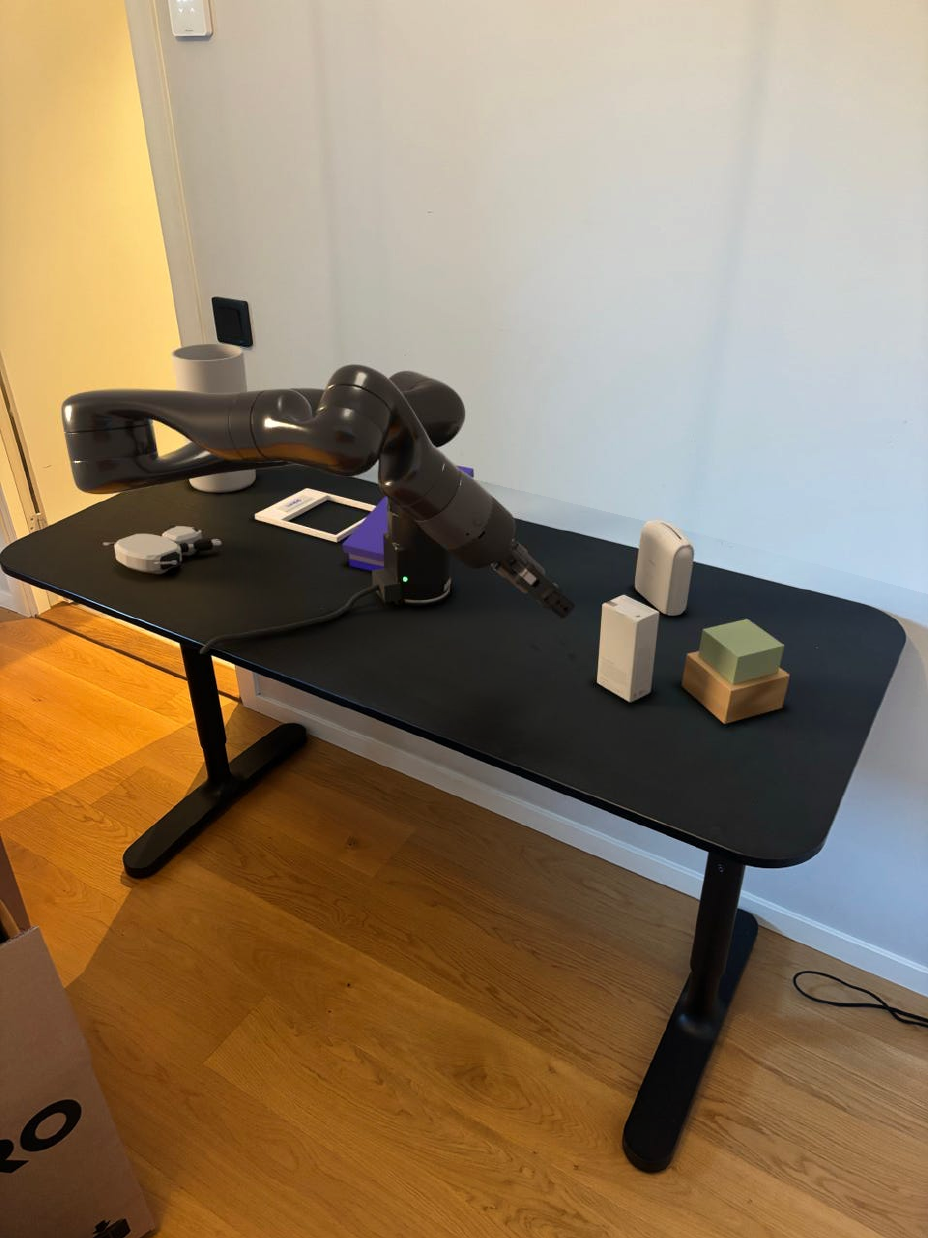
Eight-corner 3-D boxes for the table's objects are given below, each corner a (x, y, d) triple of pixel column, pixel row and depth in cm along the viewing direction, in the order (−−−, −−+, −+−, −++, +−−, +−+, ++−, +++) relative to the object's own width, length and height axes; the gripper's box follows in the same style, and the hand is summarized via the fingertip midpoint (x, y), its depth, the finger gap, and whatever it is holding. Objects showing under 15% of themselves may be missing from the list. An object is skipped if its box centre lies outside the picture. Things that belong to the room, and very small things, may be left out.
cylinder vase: (224, 499, 169) (208, 364, 157) (176, 485, 175) (156, 353, 162) (269, 478, 179) (257, 349, 166) (222, 465, 184) (207, 340, 171)
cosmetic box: (651, 692, 117) (663, 611, 111) (628, 705, 115) (639, 622, 108) (616, 671, 121) (626, 592, 115) (593, 683, 119) (601, 602, 113)
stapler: (476, 515, 165) (478, 464, 160) (405, 580, 142) (405, 523, 138) (419, 504, 169) (419, 454, 164) (342, 566, 146) (339, 509, 141)
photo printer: (629, 587, 142) (639, 514, 136) (653, 583, 143) (664, 511, 137) (664, 619, 134) (675, 543, 127) (689, 614, 135) (701, 538, 129)
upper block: (732, 684, 110) (738, 656, 108) (697, 655, 116) (702, 628, 114) (778, 672, 113) (784, 645, 111) (742, 645, 118) (747, 618, 116)
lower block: (724, 724, 111) (731, 690, 109) (681, 685, 119) (686, 653, 116) (782, 708, 115) (790, 675, 112) (736, 671, 122) (743, 639, 119)
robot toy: (176, 540, 155) (102, 566, 144) (174, 515, 153) (98, 540, 142) (227, 558, 150) (154, 587, 138) (226, 533, 148) (152, 560, 136)
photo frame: (306, 487, 172) (385, 507, 164) (307, 492, 172) (385, 513, 165) (254, 513, 161) (336, 536, 153) (255, 519, 161) (336, 542, 154)
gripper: (414, 518, 102) (502, 591, 111) (466, 572, 90) (558, 648, 100) (459, 467, 101) (543, 546, 111) (516, 516, 90) (604, 598, 99)
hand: (550, 594), depth 105 cm, fingers open, 8 cm apart
